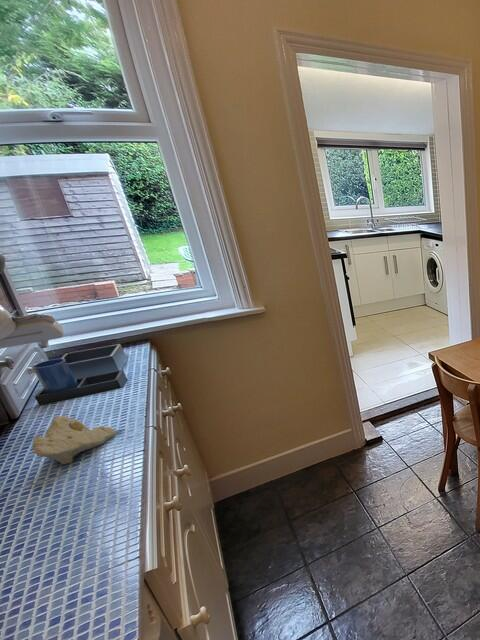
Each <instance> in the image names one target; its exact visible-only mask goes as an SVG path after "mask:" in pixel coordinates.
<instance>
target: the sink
mask: <svg viewBox="0 0 480 640" xmlns="http://www.w3.org/2000/svg"><path fill="white" fill-rule="evenodd" d="M60 359H65V360H66V362H67V364H68V365H69V367H70V369H71V371H72V373H73V375H74V377H75V378H76V379H79V378H84V377H89V376H94V375H99V374H104V373H109V372H114V371H119V370H123V369H124V367H125V365H126V363H127V362H128V360H127V359H128V357H127V355H126V353H125V351H124V348H123V345H122V343H117V344H116V343H115V344H112V345H105V346H100V347H95V348H88V349H83V350H82V349H81V350H76V351H71V352H67V353H66V352H65V353H64V354H63V355H62V356H61V357H60Z"/></svg>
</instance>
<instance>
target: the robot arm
mask: <svg viewBox="0 0 480 640" xmlns="http://www.w3.org/2000/svg"><path fill="white" fill-rule="evenodd" d="M5 267H6V257H5V255H3V253H2V252H1V251H0V275H2V274H3V273H4V270H5ZM64 334H65V333H64V328H63V326H62V325H61V324H60V322H58V321H57V320H56V319H55V318H54V317H53V316H52V314H48V313H47V314H45V313H38V312H37V313H30V314H23V315H17V316H16V315H15V316H14V315H12V314H11V313H10V312H9V311H8V310H7V309H6V308H5V307H4V306H3V305H2V304H0V349H1V350H2V349H5V348H12V347H18V346H23V345H28V344H34V343H36V344H37V347H39V348H40V349H47V348H50V345H49V341H50V340H56V339H57V340H58V339H61V338H62V337H64Z"/></svg>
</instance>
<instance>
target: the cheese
mask: <svg viewBox="0 0 480 640" xmlns="http://www.w3.org/2000/svg"><path fill="white" fill-rule="evenodd" d="M116 434H117V432H116V429H115V428H112V427H110V426H103V425H100V426H96V427H93V428H92V429H90V428H88V427H87V426H86V425H85V424H84V423H83V422H82V421H80V420H79V419H76V418H70V417H69V416H66V415H65V416H64V415H60V416H59V415H58V416H54V418H53V419H52V420H51V424H50V425H49V427H48V428H47V430H46V431H45V433H44V436H40V434H39V432H35V435H36V436H34V437H33V442H32V450H33V453H34V454H35V455H36V456H37V457H42V458H48V459H53V460H55V461H56V462H57V461H58V462H60V464H61V465H67V464H70V463H72V462H73V461H74V458H75V457H76V456H77V455H78V454H80V453H82V452H84V451H88V450H91V449H95V448H97V447H98V446H101V445H103V444H104V443H105V442H107V441H109V440H110V439H111V438H113V437H114V436H116Z"/></svg>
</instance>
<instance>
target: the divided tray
mask: <svg viewBox="0 0 480 640" xmlns="http://www.w3.org/2000/svg"><path fill="white" fill-rule="evenodd" d="M76 380H77V382H78V384H79V385H78V386H77V388H72V389H67V390H63V391H58V392H53V393H48V394H47V393H46V391H45V389H44V387H43V386H42V388H41V389H40V390H39V392H38V393H37V394H35V396H34V399H35V401H36V402H37V404H38V405H39V407H41V406H47V405H51V404H55V403H60V402H64V401H69V400H73V399H79V398H83V397H87V396H92V395H97V394H102V393H106V392H111V391H116V390H119V389H123V388H124V387H125V385H126V384H127V381H128V378H127V375H126V374H125V372H124V369H122V370H119V371H114V372H109V373H104V374H99V375H94V376H89V377H84V378H79V379H76Z"/></svg>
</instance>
